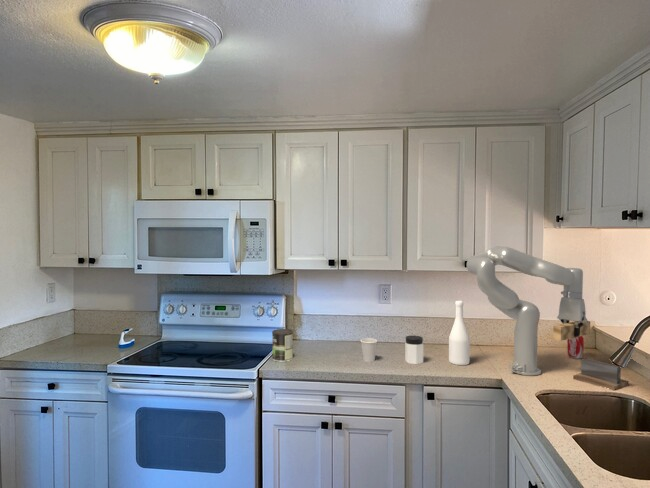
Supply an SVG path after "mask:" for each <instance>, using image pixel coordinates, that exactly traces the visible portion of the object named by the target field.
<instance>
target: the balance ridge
mask: <svg viewBox="0 0 650 488" xmlns="http://www.w3.org/2000/svg"><path fill="white" fill-rule="evenodd" d="M580 361H581V368H580V369H581V370H580V371H581V372H579V373H576V374H574V375H573V377H572V380H576V381H578V382H583V383H586V384H590V385H593V386H597V387H600V386H602V387H601V388H604V387H606V388H605V389H607V388H609V389H608V390H611V389H612V391H616V390H618V388H619V389H622V388H623V387H626V386H629V383H630V382H629V380H626V379H622V378H621V377H622V376H621V375H622V374H621V373H622V371H621V370H622V369H621V368H622V367H621V366H620V367H621V368H620V367H617V366H618V365H615V364H612V363H608V362H603V361H598V360H594V359H589V358H585V357H583V358H581V360H580ZM615 389H616V390H615Z"/></svg>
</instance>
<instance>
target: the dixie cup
mask: <svg viewBox="0 0 650 488" xmlns="http://www.w3.org/2000/svg"><path fill="white" fill-rule="evenodd" d="M359 341H360V345H361V354H362V361H363V362H365V363H372V362H374V361H375V360H376V352H377V345H378V344H377V343H378V340H377V339H376V338H371V337H367V338H366V337H365V338H362V339H360V340H359Z"/></svg>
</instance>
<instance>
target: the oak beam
mask: <svg viewBox="0 0 650 488" xmlns="http://www.w3.org/2000/svg"><path fill="white" fill-rule="evenodd" d="M581 322H583V321H581ZM552 327H553V328H552V330H553V331H552V332H553V333H552V335H553V336H552V340H555V341H561V342H562V341H566V340H567V339H571V338H575V337H574V328H575V321H570V322H569V323H565V324H563V323H561V324H560V323H559V324H555V325H553V326H552ZM589 335H591V321H590V320H588V323H587V324H584V325H583V326H582V327H581V328H580V335H579V336H577V337H580V336H583V337H584V336H589Z"/></svg>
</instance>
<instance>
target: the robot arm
mask: <svg viewBox="0 0 650 488" xmlns="http://www.w3.org/2000/svg"><path fill="white" fill-rule="evenodd" d="M466 261H467V262H466V269H467V271H468V272H469V273H471V274H472V275H476V281H477V285H478V289H479V290H480V291H481V292H482V293H483V294H484V295H486V296H487V299H488V302H489V303H490V304H491V305H492V306H493V307H494V308H496V309H498V310H499V311H500V312H502V313H503V314H504V315H506V316H507V317H509V318H511V319H512V320H516V323H515V326H514V331H513V341H514V342H513V344H514V345H513V364H510V365H509V366H508V370H510V371H511V372H512V373H515V374H517V375H523V376H529V377H530V376H539V375H541V374H542V370H541V369H540V368H538V331H539V329H538V328H539V322H540V316H541V315H540V314H541V312H540V309H539V307H537V305H536V304H534V303H532V302H529V301H527V300H523V299H520V297H519V296H518V294H517V293H516V292H515V291H514V290H513V289H512V288H511V287H509V286H507V285H506V284H504V283H503V282H502V281H500V280H499V279H498V278H497V276H496V266H499V265H500V266H503V267H506V268H508V269H512V270H514V271H517V272H519V273H521V274H524V275H528V276H532V277H538V278H542V279H544V280H546V281H547V282H548V283H550V284H553V285H558V286H563V290H562V291H561V292H560V294H561V295H563V296H562V297H561V298H560V302H559V308H558V315H557V316H556V319H557V320H559V321H560V323H561V324H565V323H570V322H575V328H574V337H577V336H579V335H580V328H581V327H582V326H583V325H584V324H587V323H588V321H589V320H588V318H587V316H586V312H587V311H586V303H585V300H584V298H583V287H584V286H583V285H584V279H583V278H584V271H583V269H581V268H577V267H564V266H561V265H559V264H558V263H557V264H556V263H554V262H550V261H547V260H545V259H542V258H538V257H537V256H533V255H531V254H527V253H525V252H523V251H522V252H521V251H520V250H517V249H514V248H511V247H509V246H494V247H491V248H489V249H486V250H485V251H482V252H479V253H477V254H474V255H472V256H471V257H469V258H468V260H466ZM581 321H583V322H581Z"/></svg>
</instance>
